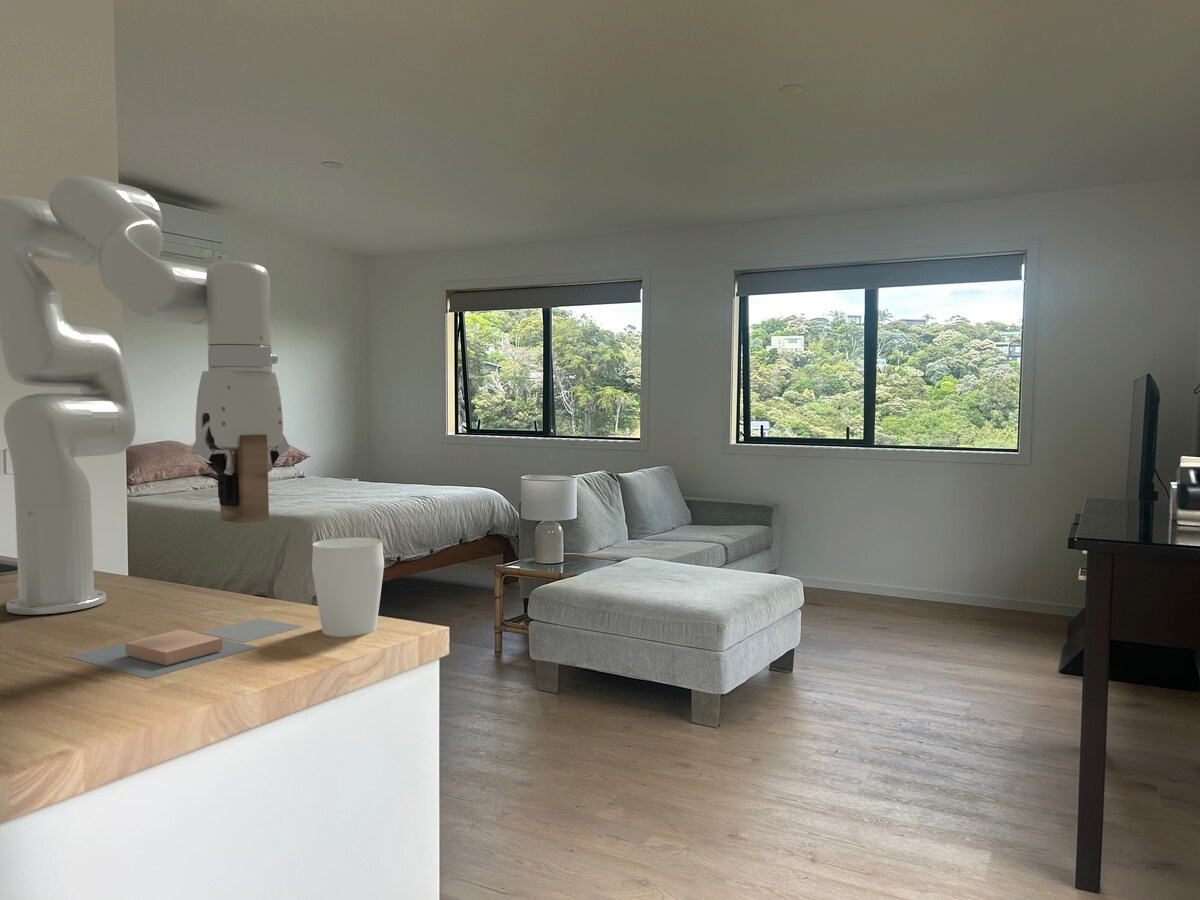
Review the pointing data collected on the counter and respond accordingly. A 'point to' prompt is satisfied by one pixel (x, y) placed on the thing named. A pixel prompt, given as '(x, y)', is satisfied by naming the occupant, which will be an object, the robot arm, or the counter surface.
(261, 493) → the bar
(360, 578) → the cup
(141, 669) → the mat
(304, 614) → the counter surface
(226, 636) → the coaster
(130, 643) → the tile
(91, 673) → the counter surface
